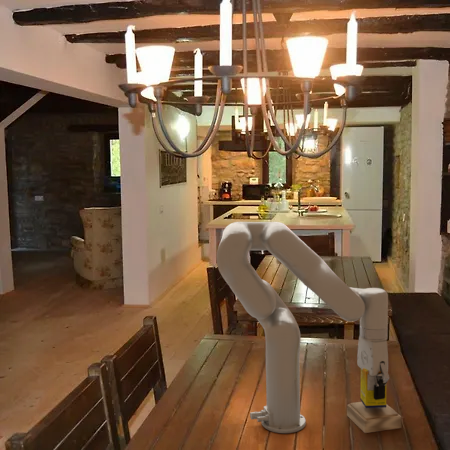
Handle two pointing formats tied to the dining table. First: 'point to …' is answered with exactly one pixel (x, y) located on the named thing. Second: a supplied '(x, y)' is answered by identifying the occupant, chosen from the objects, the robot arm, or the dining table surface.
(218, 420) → the dining table surface
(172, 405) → the dining table surface
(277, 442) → the dining table surface
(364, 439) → the dining table surface
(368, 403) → the supplement box
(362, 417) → the pedestal
